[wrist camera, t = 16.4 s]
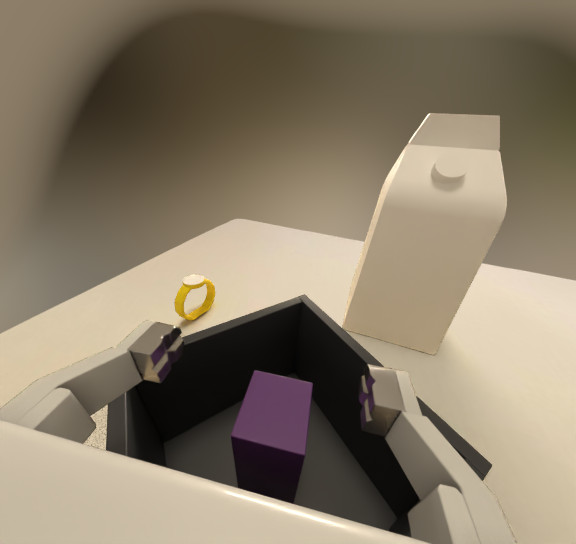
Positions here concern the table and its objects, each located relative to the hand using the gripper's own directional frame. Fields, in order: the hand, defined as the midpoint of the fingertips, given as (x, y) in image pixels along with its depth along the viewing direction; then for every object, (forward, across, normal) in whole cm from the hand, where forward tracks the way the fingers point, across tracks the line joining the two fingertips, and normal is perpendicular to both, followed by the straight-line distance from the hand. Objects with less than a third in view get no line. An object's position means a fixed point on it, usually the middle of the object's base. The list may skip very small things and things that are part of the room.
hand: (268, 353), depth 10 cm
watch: (+16, -14, -15) cm, 27 cm away
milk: (+23, +13, -15) cm, 31 cm away
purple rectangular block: (0, +1, -14) cm, 14 cm away
